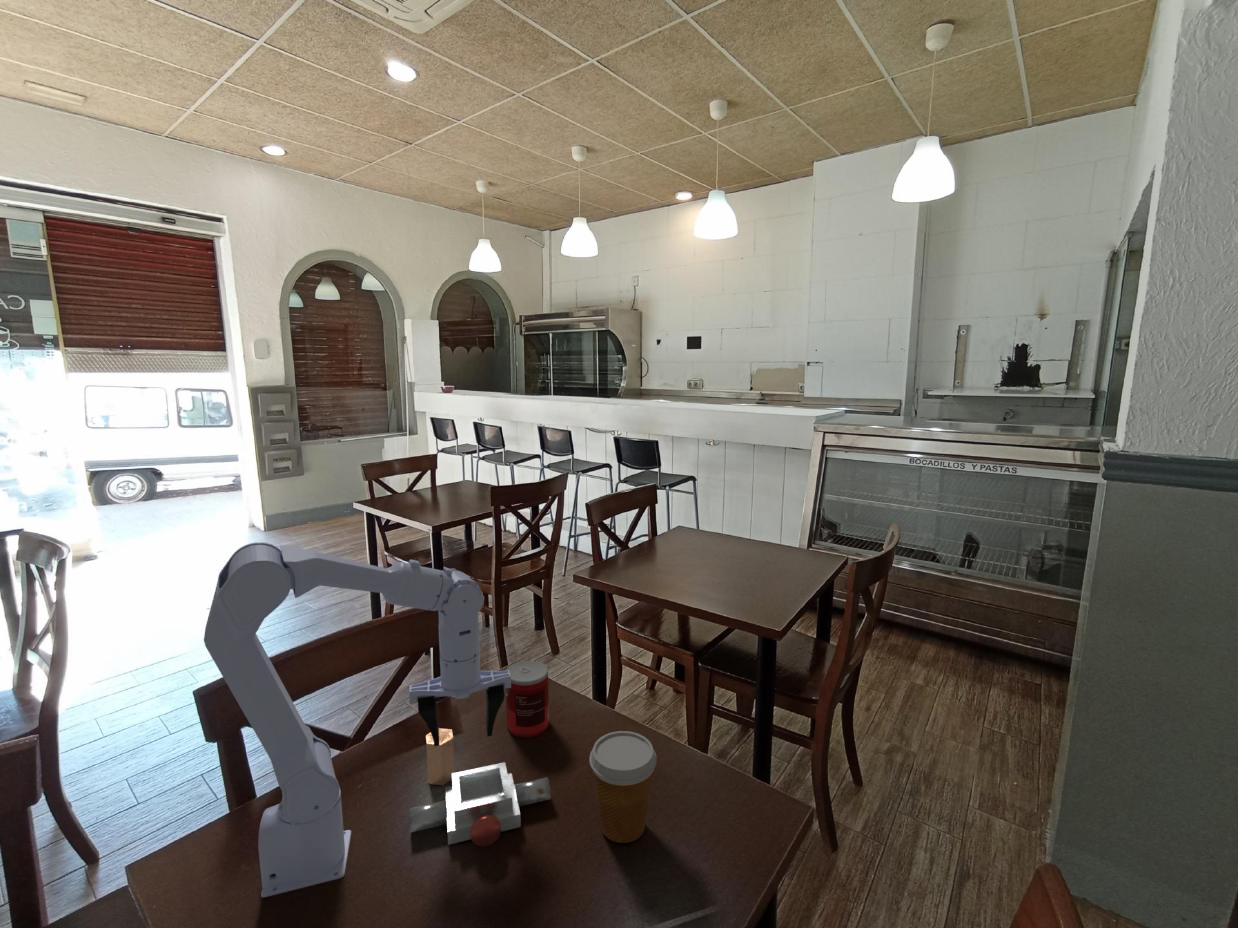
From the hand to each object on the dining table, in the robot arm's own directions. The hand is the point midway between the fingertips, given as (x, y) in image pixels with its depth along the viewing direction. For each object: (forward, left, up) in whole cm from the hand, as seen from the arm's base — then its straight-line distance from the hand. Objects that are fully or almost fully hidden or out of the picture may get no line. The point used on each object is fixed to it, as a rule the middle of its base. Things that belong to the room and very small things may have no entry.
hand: (463, 736), depth 86 cm
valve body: (+2, -4, -10) cm, 11 cm away
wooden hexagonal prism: (-3, +6, -10) cm, 12 cm away
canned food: (+12, +15, -10) cm, 22 cm away
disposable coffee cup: (+21, -13, -10) cm, 27 cm away
